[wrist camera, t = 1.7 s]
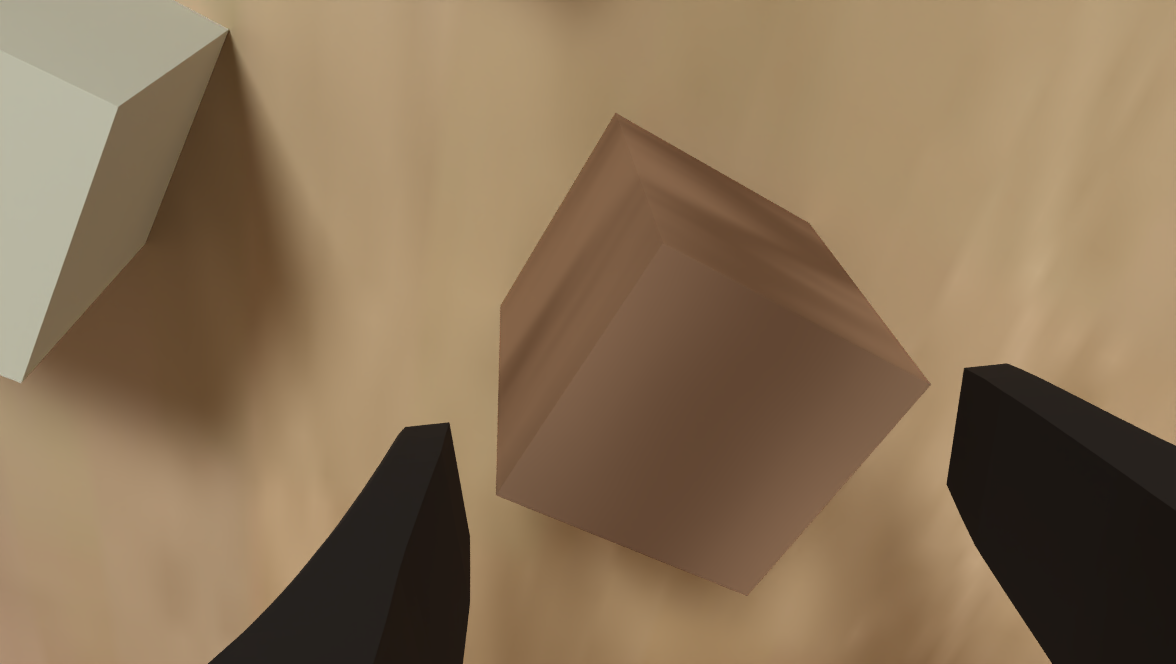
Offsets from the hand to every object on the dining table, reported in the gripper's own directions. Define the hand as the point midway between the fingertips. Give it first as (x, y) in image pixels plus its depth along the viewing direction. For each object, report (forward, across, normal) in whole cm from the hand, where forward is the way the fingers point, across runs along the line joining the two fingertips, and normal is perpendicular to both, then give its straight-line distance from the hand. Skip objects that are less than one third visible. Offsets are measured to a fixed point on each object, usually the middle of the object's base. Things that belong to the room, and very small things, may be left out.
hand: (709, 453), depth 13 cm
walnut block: (+6, 0, 0) cm, 6 cm away
